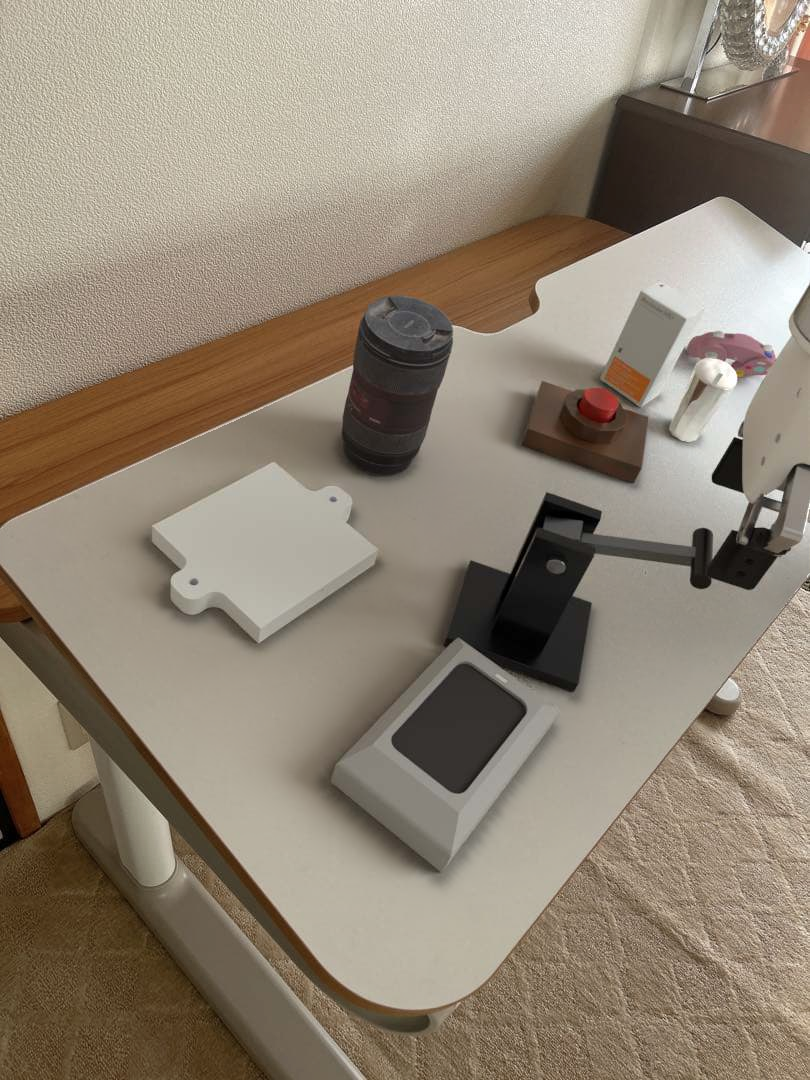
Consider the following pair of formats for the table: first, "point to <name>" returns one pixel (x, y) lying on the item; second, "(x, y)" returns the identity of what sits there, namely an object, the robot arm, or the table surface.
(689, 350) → the video game controller
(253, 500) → the mounting plate
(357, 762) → the card reader
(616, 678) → the table surface
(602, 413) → the button
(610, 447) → the button block
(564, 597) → the bracket
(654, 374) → the cosmetic box
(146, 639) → the table surface
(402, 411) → the camera lens
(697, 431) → the milkshake
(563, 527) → the lever
